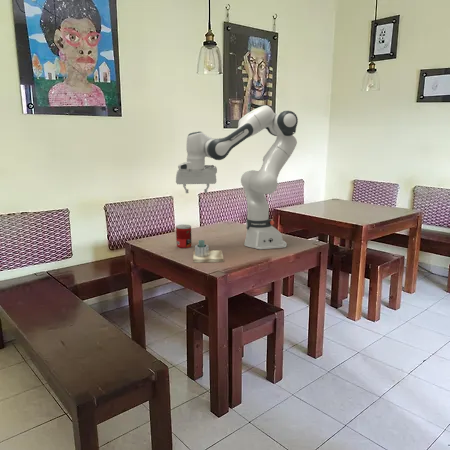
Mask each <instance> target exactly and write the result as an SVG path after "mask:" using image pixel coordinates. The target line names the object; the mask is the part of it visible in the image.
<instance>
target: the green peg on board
mask: <svg viewBox="0 0 450 450" xmlns="http://www.w3.org/2000/svg"><path fill="white" fill-rule="evenodd" d="M198 244H199V247H205V245H204V244H205V239H199V240H198ZM192 260H193V261H192V263H194V264H195V263H200V264H201V263H224V261H225V260H224V255H223V251H222V249H220V250H215V249H214V250H209V255H208V256H206V257H197V256H195V250H193V255H192Z"/></svg>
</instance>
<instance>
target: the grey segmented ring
mask: <svg viewBox="0 0 450 450" xmlns="http://www.w3.org/2000/svg"><path fill="white" fill-rule="evenodd" d="M204 245H205V247H199V243H198V244H196V245H194V251H195V256H197V257H206V256H208V255H209V251H210V249H209V246H210V245H208V244H206V243H204Z"/></svg>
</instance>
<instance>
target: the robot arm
mask: <svg viewBox="0 0 450 450" xmlns="http://www.w3.org/2000/svg"><path fill="white" fill-rule="evenodd" d="M298 120H299V119H298V115H297V114H296V113H295V112H294V111H291V110H283V111H281V112H278V113H275V112H274V110H273V109H272V108H271V106H269V105H267V104H266V105H262V106H259V107H257V108H254V109H253V110H251V111H249V112H247V113H246V114H245V115H243V116H242V117H241V118H240V119H239V120H238V124H237V126H238V127H237V128H236V129H235V130H234V131H232V132H231V133H229V134H228V135H226V136H224V137H222V138H221V137H219V138H213V137H211V136H209V135H207V134H205V133H204V132H203V131H193V132H190V133H189V134H188V135H187V136H186V153H187V156H186V161H185V162H183V163H180V164H178V165H177V167H178V168H177V171H176V175H175V183H176V184H177V185H182V187H183V188H184V191H185V194H189V188H187V185H206V188H205V189H204V190H203V192H204V194H207V193H208V190H209V188H210V185H215V184H217V173H218V168H217V166H216V165H213V164H212V165H211V164H210V165H209V164H206V163H205V162H206V161H205V158H209V159H214V160H216V161H222V160H224V159H225V158H227V157H228V155H229V154H230V152H231V151H232V150H233V148H235V147H237V146H239V144H241V143H242V142H244V141H245V140H246V139H248V138H250V137H253V136H255V135H256V134H258V133H260V132H262V131H263V130H267V132H268V133H269V134H270V135H272V136H274V137H276V138H275V140H274V142H273V144H272V145H271V147H269V149H268V150H267V152H266V153H265V154H264V156H263V157H262V158H263V159H262V165H261V167H260V169H259V170H254V169H252V170H248V171H245V172H243V174H242V175H241V178H240V183H241V185H242V187H243V189H244V193H245V199H246V203H247V205H246V208H247V212H246V213H247V218H246V223H245V224H246V226H245V227H246V234H245V235H246V236H245V240H244V243H243V245H244V246H245V247H248V248H253V249H257V250H269V249H281V248H287V242H286V241H285V240H284V239H283V234H282V233H281V232H280V231H279V230H278V229H277V228H276V227H275V226H273V225H274V224H275V221H274V220H272V219H270V218H269V212H270V211H269V210H270V209H269V206H270V205H269V202H268V201H267V198H266V195H268V194H269V195H270V194H272V193H274V192H275V191H276V190H277V188H278V183H279V182H278V177H279V174H280V172H281V171H282V170H283V167H284V166H285V164H286V163H287V162H288V160H289V159H290V157H291V156H292V154H293V153H294V151H295V148H296V147H297V144H298V142H297V138H296V137H295V136H294V134H296V131H297V126H298V122H299V121H298Z"/></svg>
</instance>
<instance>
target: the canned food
mask: <svg viewBox="0 0 450 450" xmlns="http://www.w3.org/2000/svg"><path fill="white" fill-rule="evenodd" d="M175 240H176V247H177V248H179V249H189V248H191V247H192V225H190V224H177V225H175Z"/></svg>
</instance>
